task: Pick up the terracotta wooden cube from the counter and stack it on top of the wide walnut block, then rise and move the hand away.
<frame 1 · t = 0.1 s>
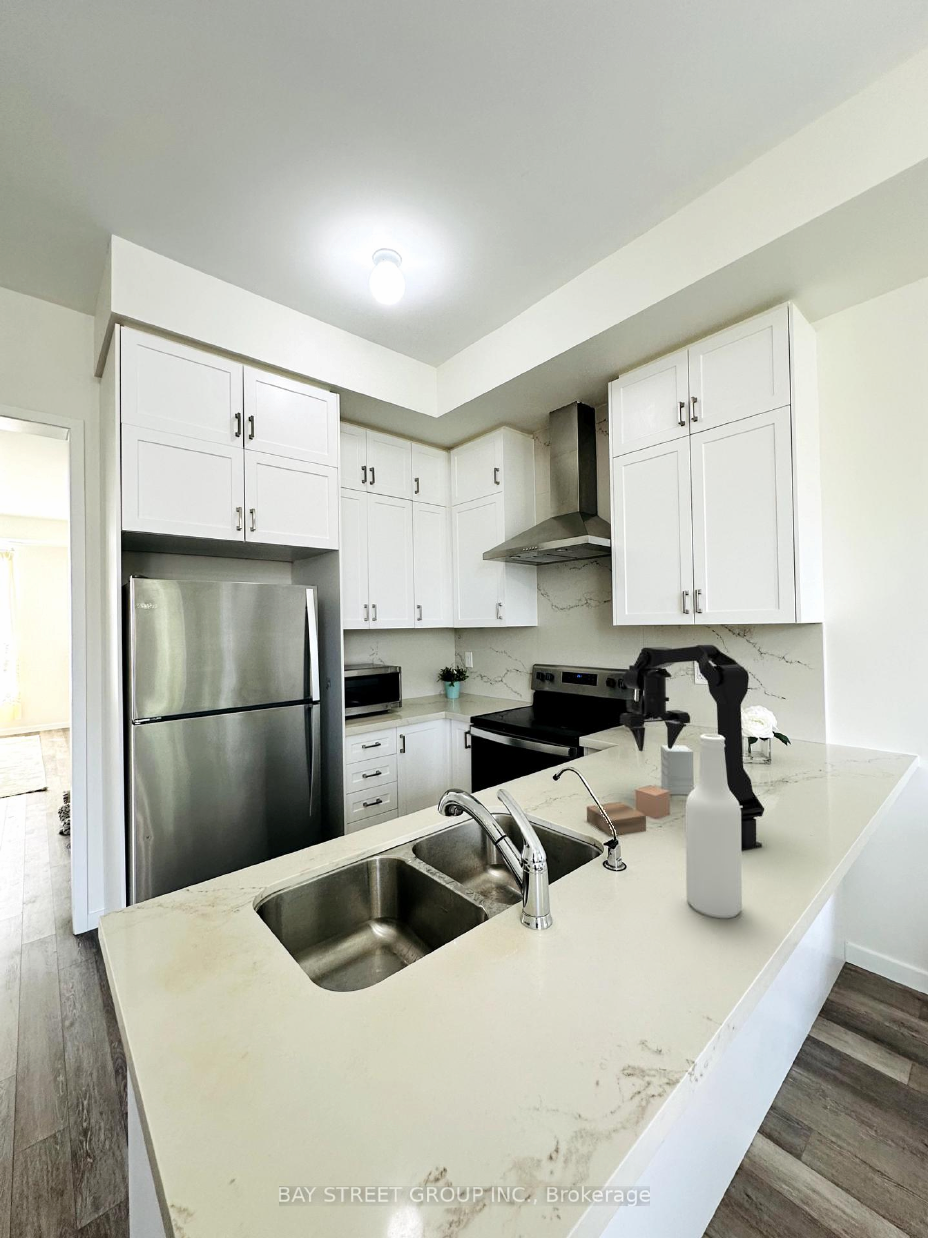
hand: (655, 749, 145), 14 cm above the worktop, tool pointing down, fingers open, 9 cm apart
alcohol: (713, 907, 93), on the worktop
terracotta cube: (652, 813, 138), on the worktop
walnut block: (615, 827, 130), on the worktop
supplement box: (677, 791, 155), on the worktop
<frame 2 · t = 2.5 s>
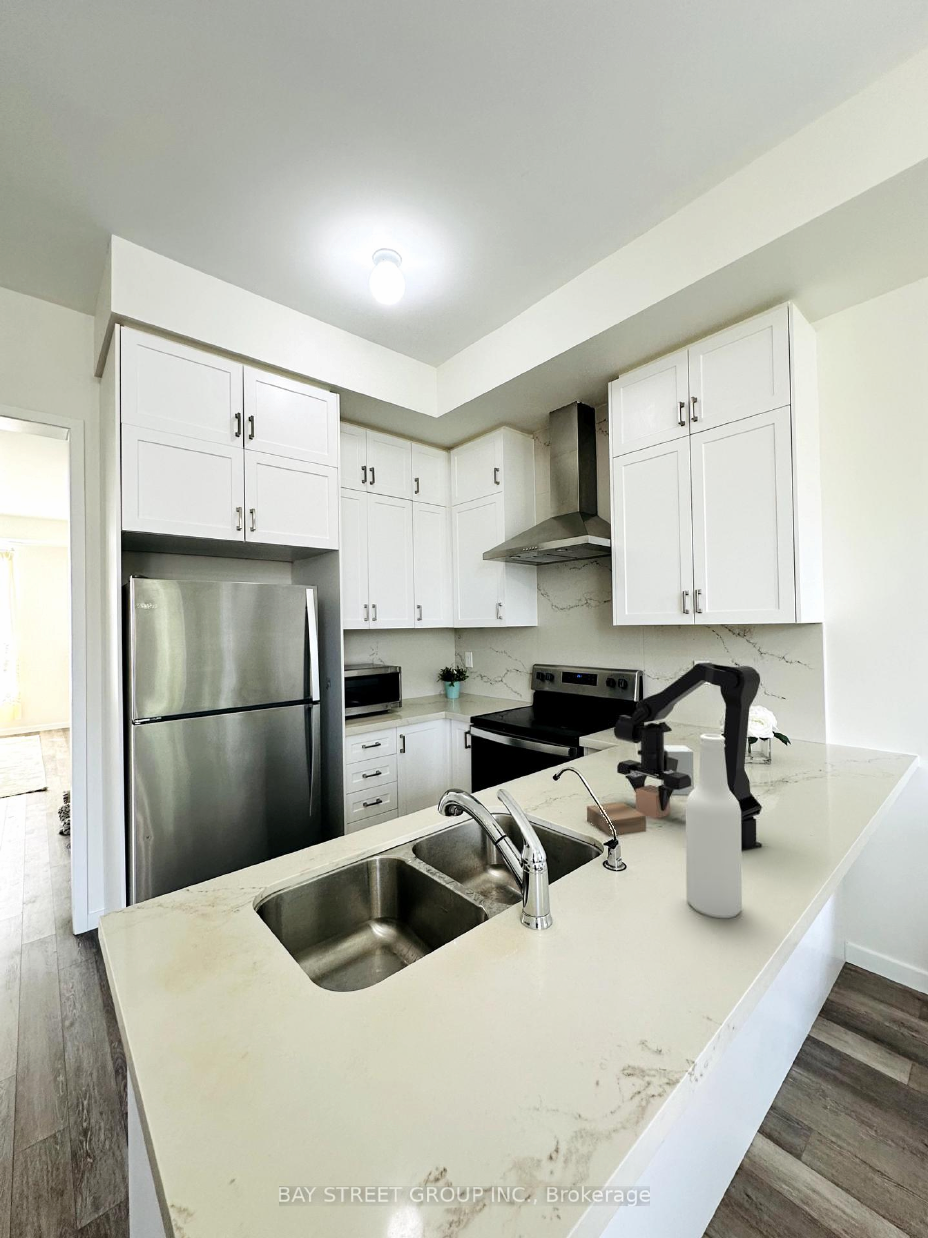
hand: (652, 807, 138), 2 cm above the worktop, tool pointing down, fingers closed on terracotta cube, 6 cm apart
terracotta cube: (652, 813, 138), on the worktop, touching gripper
everything else where it was.
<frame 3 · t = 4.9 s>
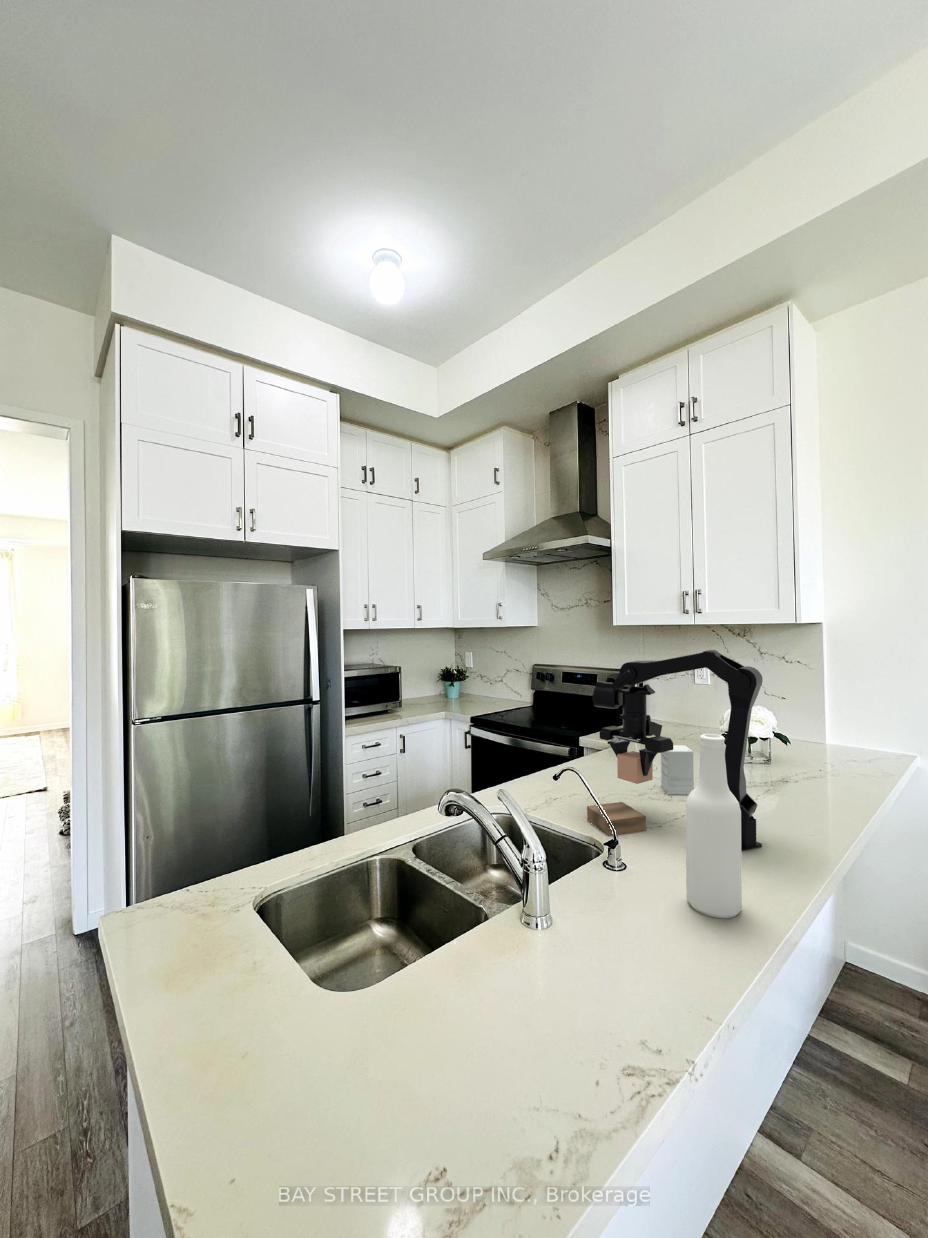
hand: (634, 772, 134), 12 cm above the worktop, tool pointing down, fingers closed on terracotta cube, 6 cm apart
terracotta cube: (634, 778, 134), point 10 cm above the worktop, touching gripper
everything else where it was.
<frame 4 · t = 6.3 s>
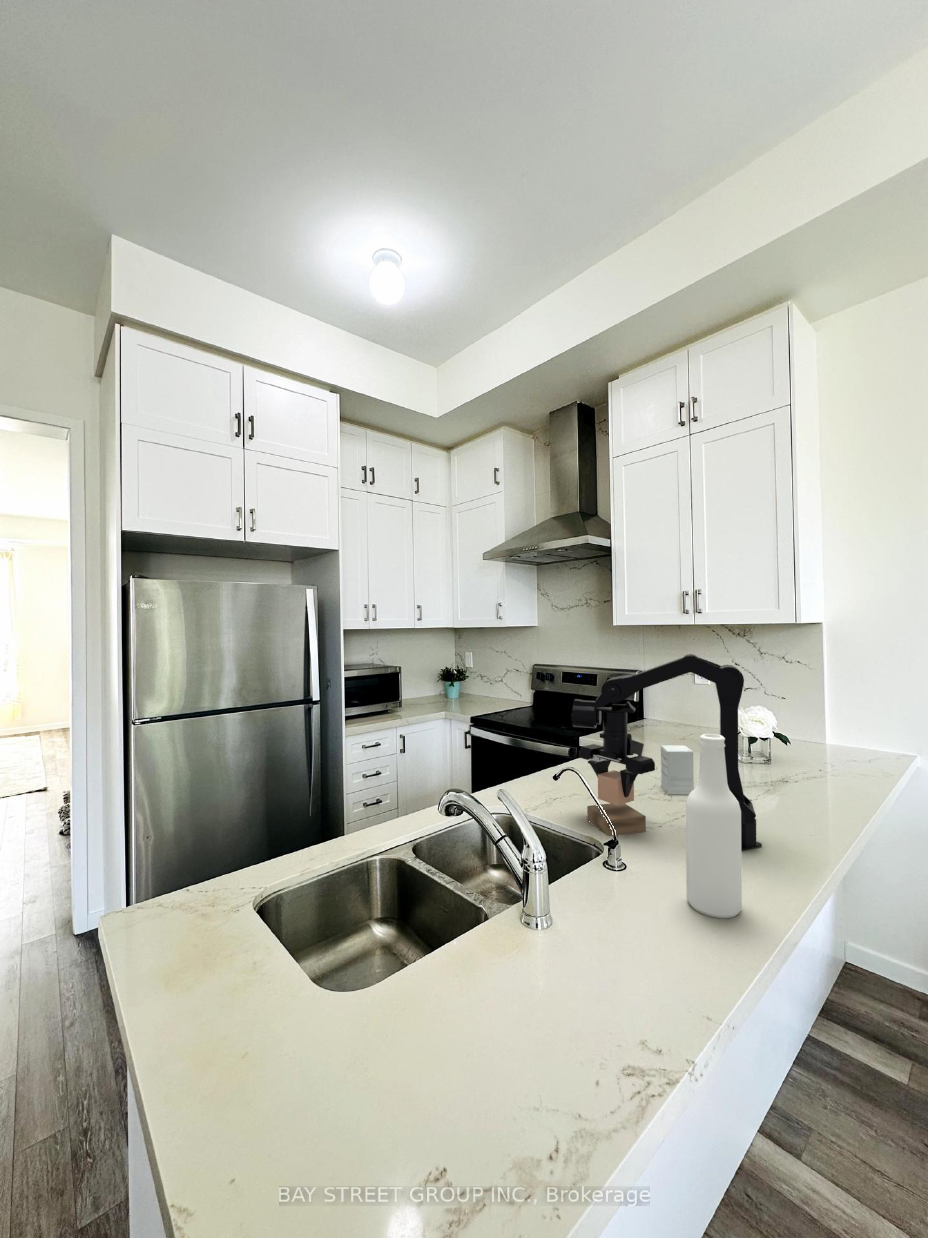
hand: (615, 793, 129), 8 cm above the worktop, tool pointing down, fingers closed on terracotta cube, 6 cm apart
terracotta cube: (615, 799, 129), point 6 cm above the worktop, touching gripper
everything else where it was.
when the fingers open (7 cm above the worktop, at t = 7.4 s): terracotta cube drops 2 cm, resting on walnut block.
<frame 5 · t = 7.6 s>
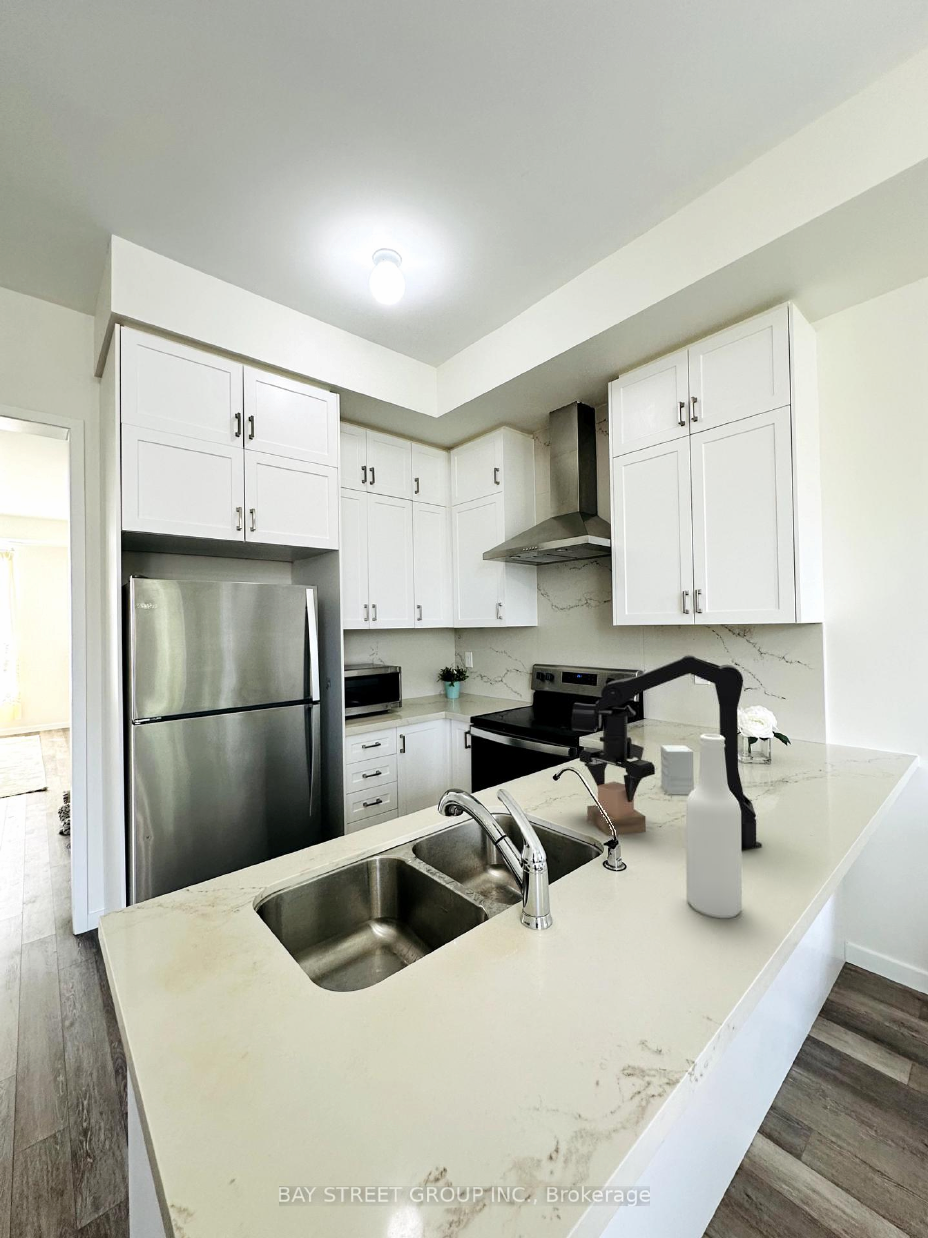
hand: (615, 797, 129), 7 cm above the worktop, tool pointing down, fingers open, 8 cm apart
terracotta cube: (615, 811, 129), point 4 cm above the worktop, touching walnut block
walnut block: (615, 827, 130), on the worktop, touching terracotta cube
everything else where it was.
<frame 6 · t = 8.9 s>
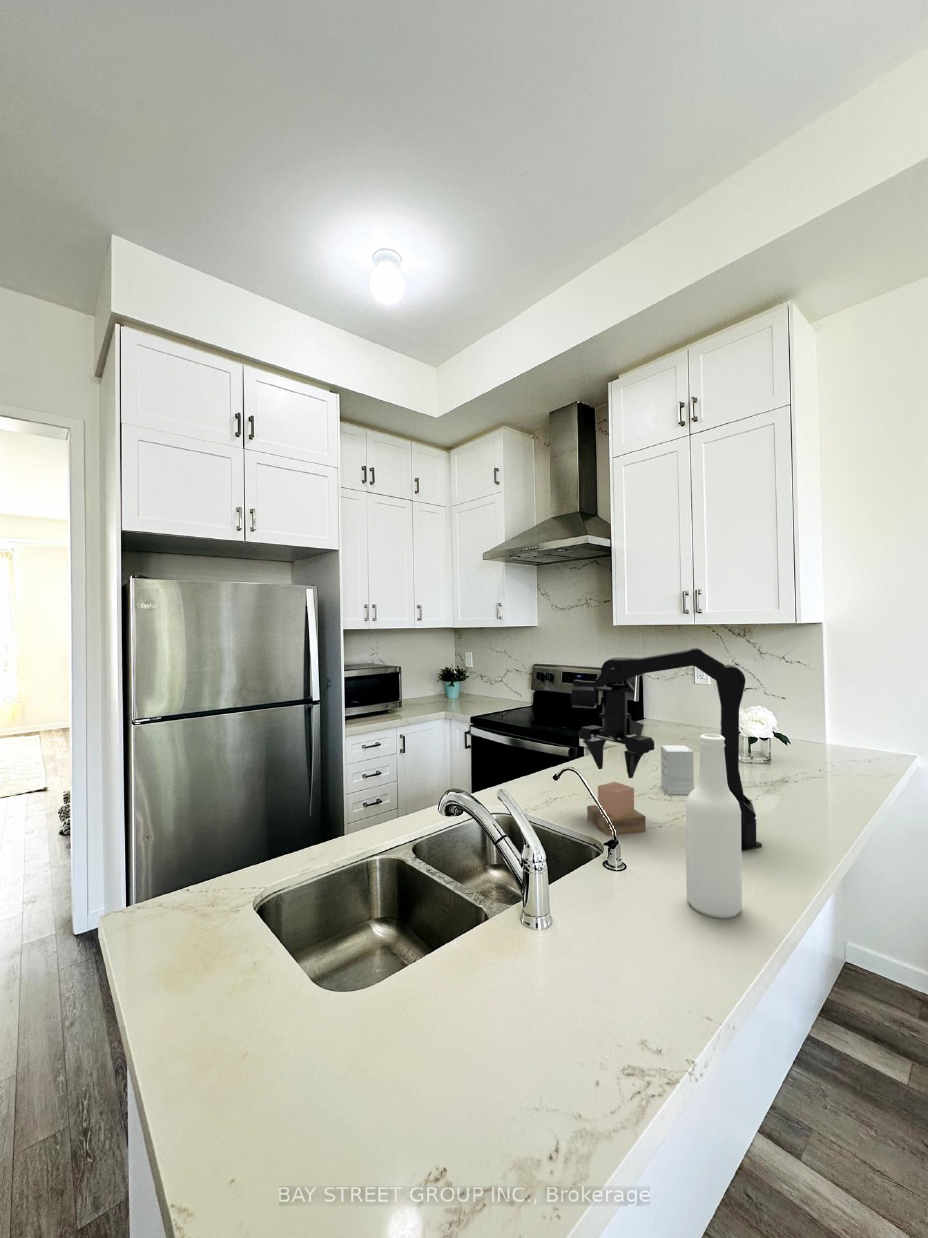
hand: (615, 773, 130), 13 cm above the worktop, tool pointing down, fingers open, 9 cm apart
nothing on the worktop moved.
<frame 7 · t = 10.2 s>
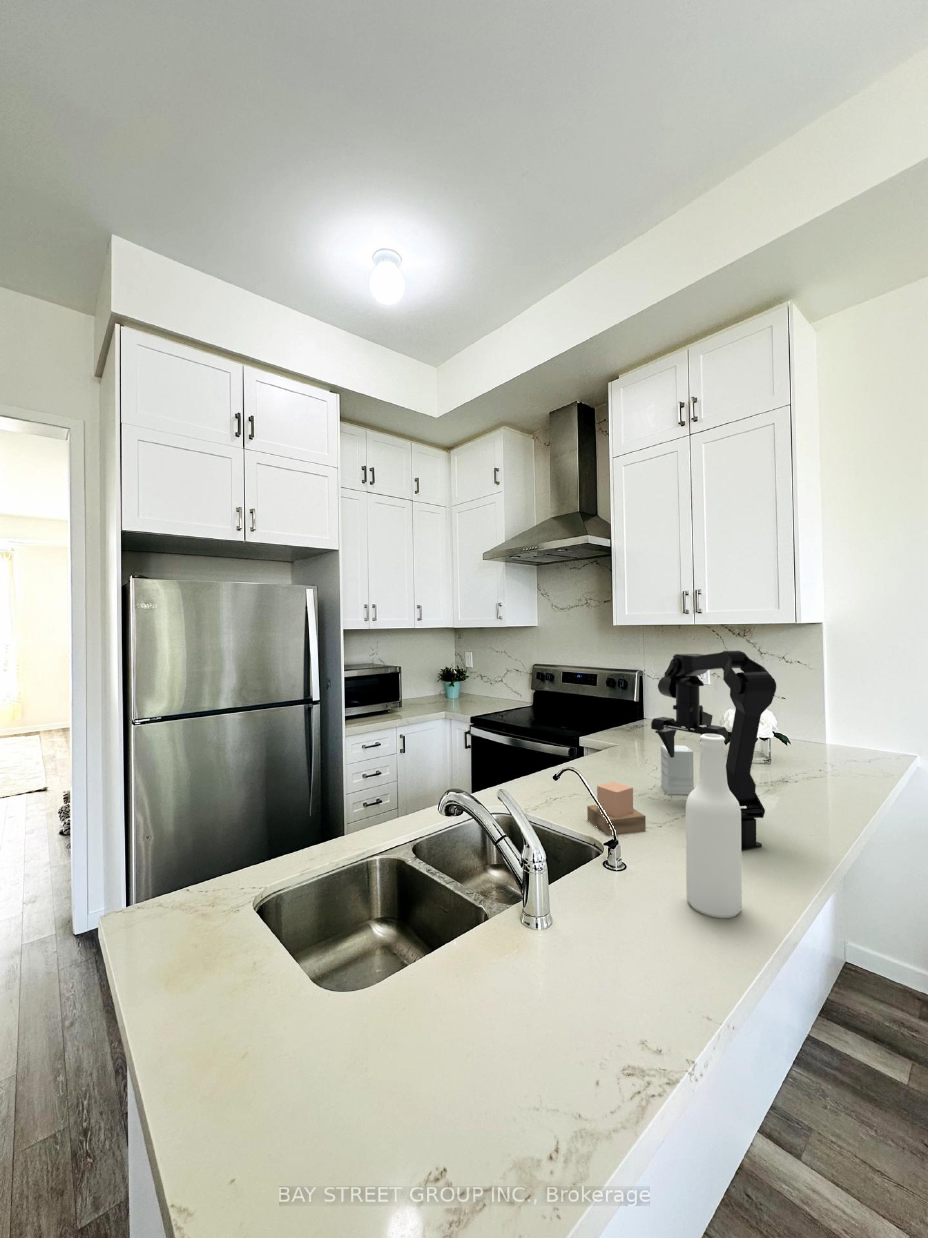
hand: (688, 761, 139), 13 cm above the worktop, tool pointing down, fingers open, 9 cm apart
terracotta cube: (615, 811, 129), point 4 cm above the worktop
walnut block: (615, 827, 130), on the worktop
everything else where it was.
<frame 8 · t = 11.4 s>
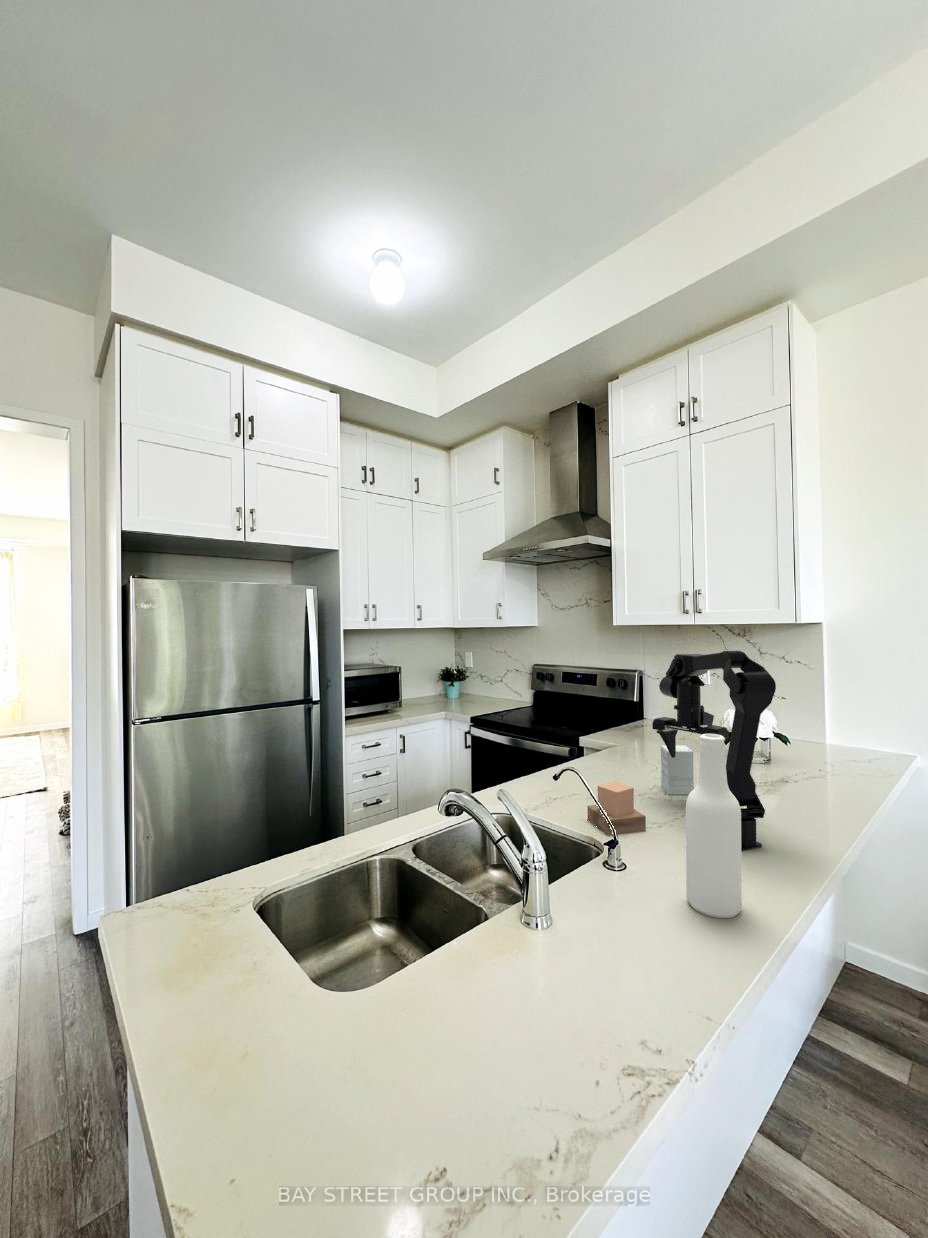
hand: (689, 761, 139), 13 cm above the worktop, tool pointing down, fingers open, 9 cm apart
terracotta cube: (615, 811, 129), point 4 cm above the worktop, touching walnut block
walnut block: (615, 827, 130), on the worktop, touching terracotta cube
everything else where it was.
at the end: terracotta cube inside the target area on the walnut block (0.3 cm from its centre), point 4.0 cm above the walnut block's base; terracotta cube tilted 0°; the gripper is holding nothing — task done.
